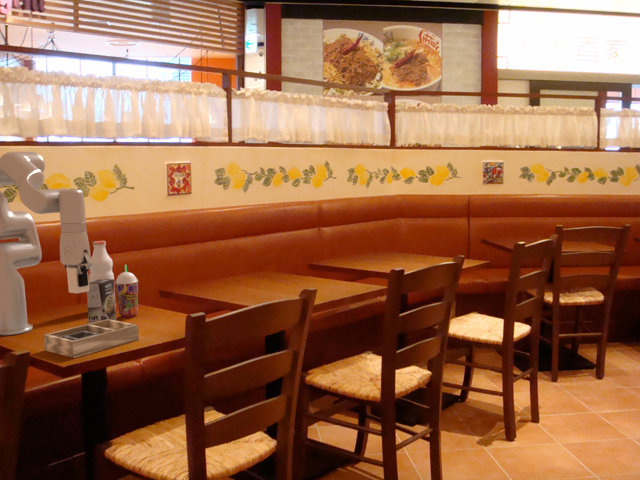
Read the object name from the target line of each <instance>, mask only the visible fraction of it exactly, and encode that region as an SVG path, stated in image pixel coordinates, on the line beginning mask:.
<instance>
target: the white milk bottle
mask: <svg viewBox="0 0 640 480" xmlns="http://www.w3.org/2000/svg"><path fill="white" fill-rule="evenodd" d="M106 245H107V242H106V240H94V241H92V246H93V252H92V255H91V256H90V258H91V259H90V260H91V262H92V265H91V267H90V268H89V272H90V273H89V274H88V278H89V282H93V281H96V280H99V279H114V280H115V276H114V275H115V274H114V272H113V267H114V266H113V265H114V261H113V259H112V258H111V257H110V255H109V253H108V252H107V248H106ZM114 290H115V291H116V284H114ZM115 306H116V307H117V303H116V299H115Z"/></svg>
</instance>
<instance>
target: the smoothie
mask: <svg viewBox="0 0 640 480" xmlns="http://www.w3.org/2000/svg"><path fill="white" fill-rule="evenodd" d="M127 265H128V264H124V271H123V272H121V273H119V275H117V278H116V280H115V281H114V284H115V292H116V298H117V306H118V313H119V315H120V318H123V319H131V318H135V317H137V315H138V313H139V279H138V278H137V276H135V274H134V273H132V272H129V271H128V270H127V269H128V268H127V267H128V266H127Z"/></svg>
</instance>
